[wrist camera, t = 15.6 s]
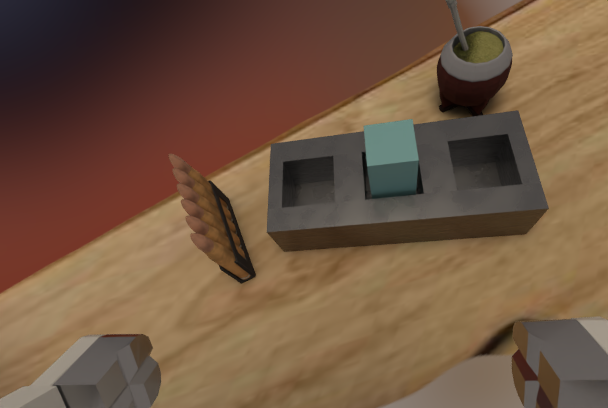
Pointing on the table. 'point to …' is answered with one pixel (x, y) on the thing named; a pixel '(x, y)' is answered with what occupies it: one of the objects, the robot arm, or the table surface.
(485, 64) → the mate gourd
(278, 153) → the block with square holes
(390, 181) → the square peg
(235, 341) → the table surface
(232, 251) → the ammunition clip
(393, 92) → the table surface
